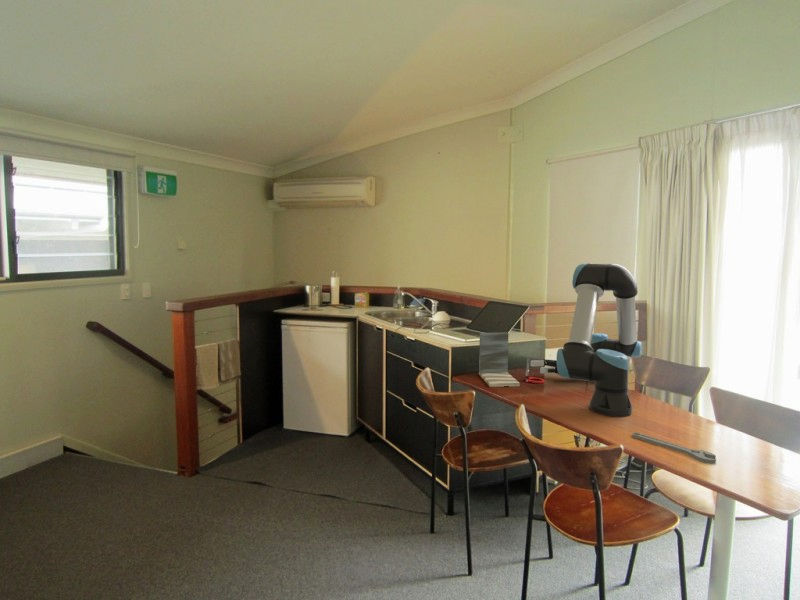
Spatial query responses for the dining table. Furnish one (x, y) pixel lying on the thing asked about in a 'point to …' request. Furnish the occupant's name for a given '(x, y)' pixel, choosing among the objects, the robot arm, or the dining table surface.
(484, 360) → the grey l-shaped piece
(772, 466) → the dining table surface
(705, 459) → the adjustable wrench
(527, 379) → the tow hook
